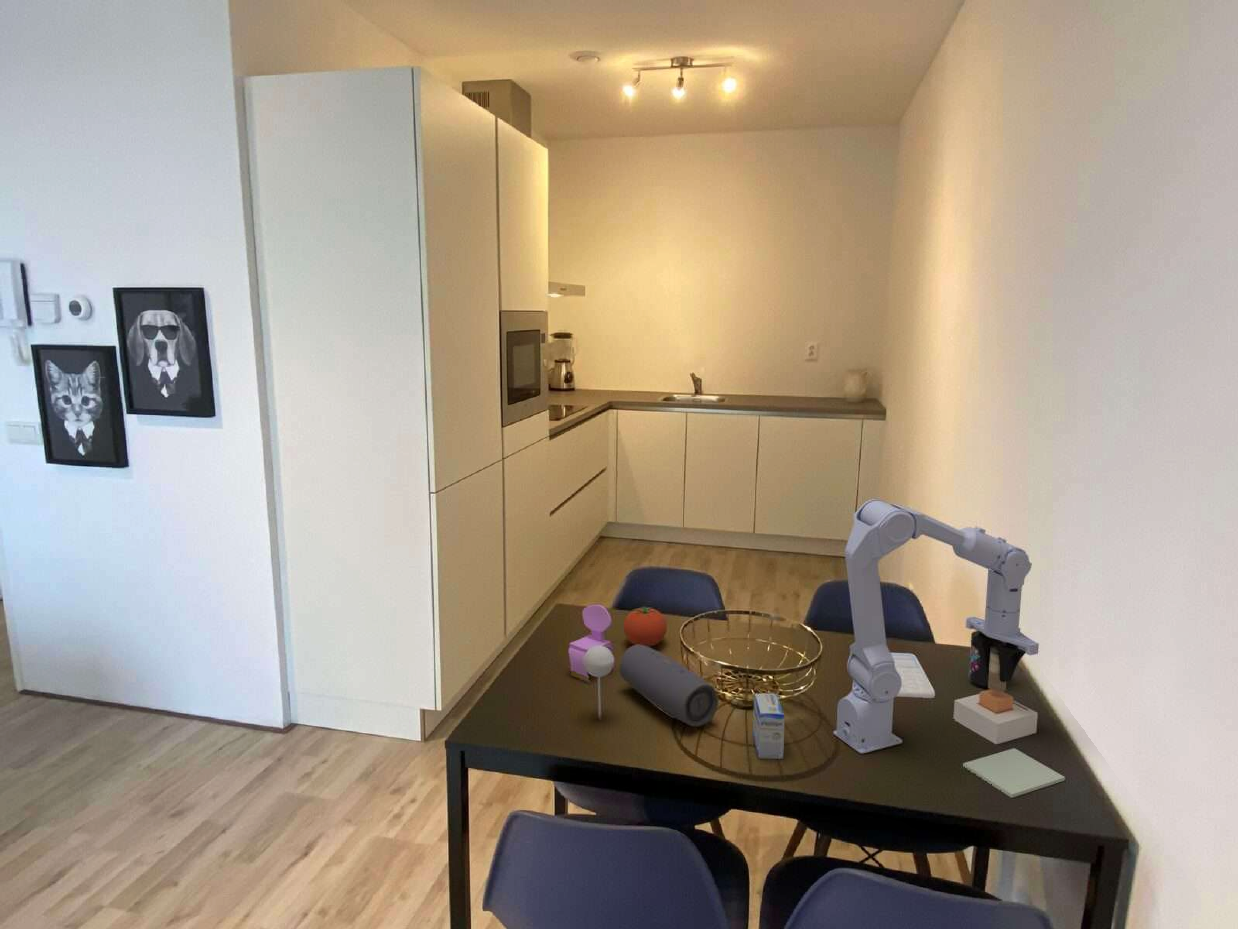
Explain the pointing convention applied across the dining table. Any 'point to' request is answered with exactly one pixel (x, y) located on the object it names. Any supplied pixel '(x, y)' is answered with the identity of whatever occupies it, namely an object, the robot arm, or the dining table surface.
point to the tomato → (645, 626)
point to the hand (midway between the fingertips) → (997, 677)
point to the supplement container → (977, 666)
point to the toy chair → (590, 637)
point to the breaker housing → (995, 720)
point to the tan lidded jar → (995, 671)
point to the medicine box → (768, 726)
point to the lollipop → (598, 665)
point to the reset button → (996, 701)
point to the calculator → (912, 677)
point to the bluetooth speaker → (669, 685)
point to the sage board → (1013, 772)
